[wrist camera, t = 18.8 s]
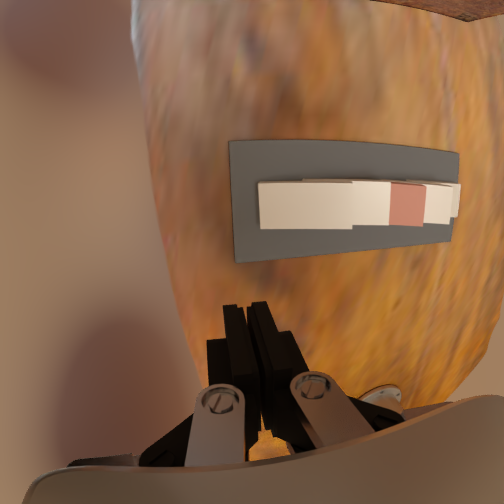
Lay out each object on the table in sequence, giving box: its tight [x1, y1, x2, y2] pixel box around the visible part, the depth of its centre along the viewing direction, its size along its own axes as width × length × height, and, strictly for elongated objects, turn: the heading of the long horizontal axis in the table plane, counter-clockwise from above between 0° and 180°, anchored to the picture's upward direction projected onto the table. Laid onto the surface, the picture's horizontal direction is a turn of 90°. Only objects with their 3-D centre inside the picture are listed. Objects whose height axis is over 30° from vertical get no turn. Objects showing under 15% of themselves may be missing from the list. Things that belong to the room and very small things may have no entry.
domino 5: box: [406, 179, 461, 217], centre depth 36 cm, size 5×2×10 cm
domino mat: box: [229, 140, 459, 263], centre depth 36 cm, size 14×34×1 cm, turn 92°
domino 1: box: [258, 181, 354, 229], centre depth 32 cm, size 5×2×10 cm
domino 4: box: [381, 179, 453, 224], centre depth 34 cm, size 5×2×10 cm
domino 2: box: [302, 179, 391, 225], centre depth 33 cm, size 5×2×10 cm
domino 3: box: [389, 182, 427, 227], centre depth 33 cm, size 5×2×10 cm
